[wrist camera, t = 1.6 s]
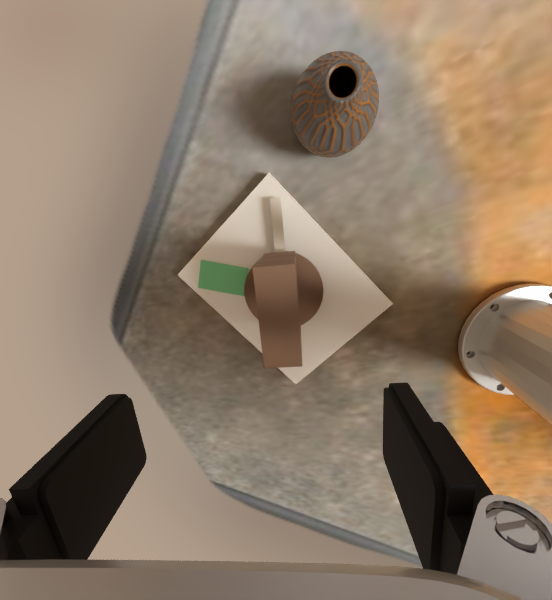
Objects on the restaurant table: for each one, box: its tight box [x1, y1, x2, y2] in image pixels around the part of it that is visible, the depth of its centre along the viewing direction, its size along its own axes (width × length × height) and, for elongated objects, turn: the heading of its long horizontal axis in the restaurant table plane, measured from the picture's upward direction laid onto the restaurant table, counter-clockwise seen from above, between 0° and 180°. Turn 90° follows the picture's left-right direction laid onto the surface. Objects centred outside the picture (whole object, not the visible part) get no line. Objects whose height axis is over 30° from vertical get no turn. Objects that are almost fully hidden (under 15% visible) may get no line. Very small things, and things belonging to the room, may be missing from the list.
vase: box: [291, 51, 379, 157], centre depth 23 cm, size 7×7×9 cm
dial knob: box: [244, 197, 323, 368], centre depth 25 cm, size 13×8×9 cm, turn 5°
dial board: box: [178, 173, 393, 384], centre depth 31 cm, size 18×14×2 cm
